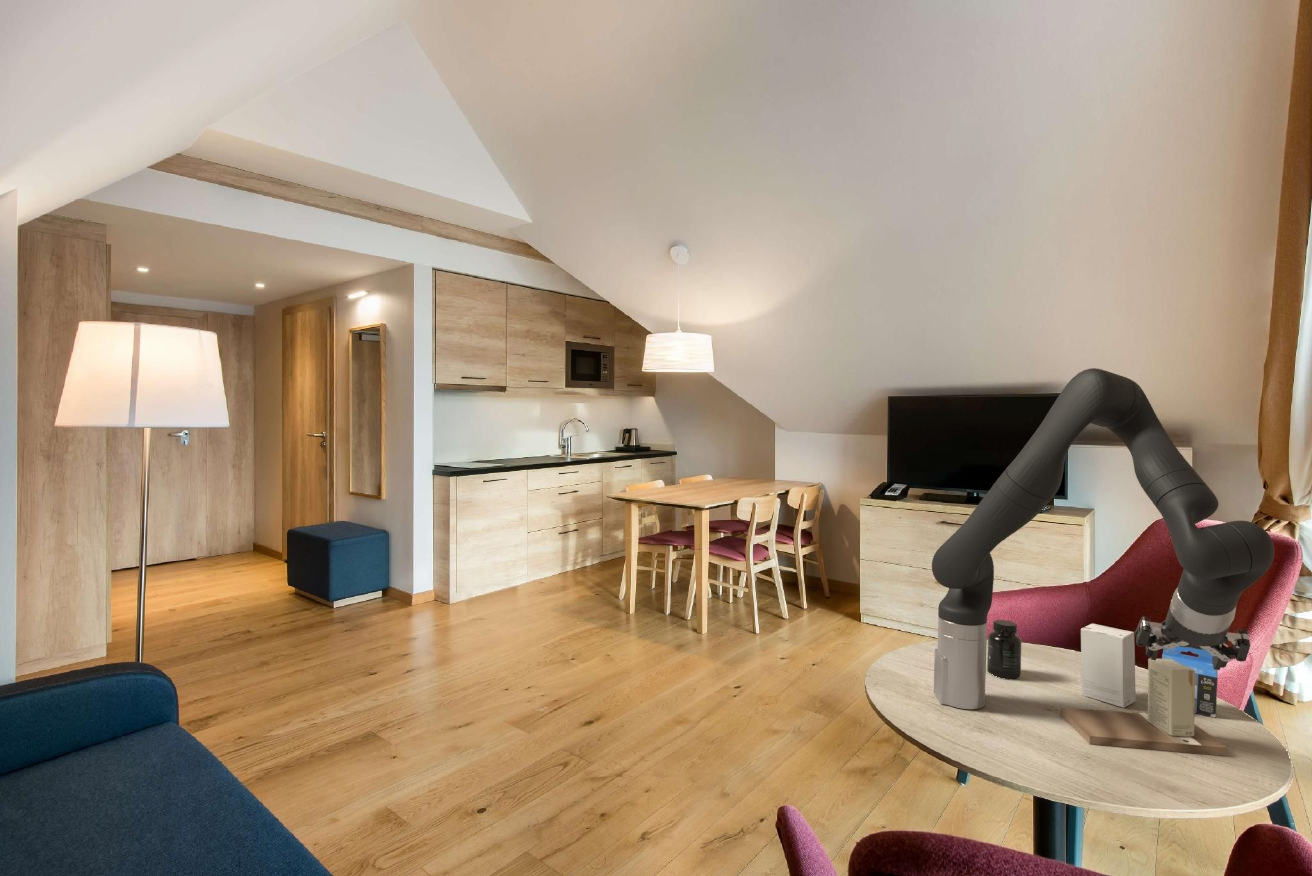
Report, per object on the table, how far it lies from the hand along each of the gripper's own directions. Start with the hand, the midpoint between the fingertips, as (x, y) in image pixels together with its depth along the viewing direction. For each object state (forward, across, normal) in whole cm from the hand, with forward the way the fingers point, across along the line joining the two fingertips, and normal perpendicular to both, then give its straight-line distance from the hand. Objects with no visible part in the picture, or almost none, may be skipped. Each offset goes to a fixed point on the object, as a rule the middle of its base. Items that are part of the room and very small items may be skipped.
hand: (1183, 659), depth 112 cm
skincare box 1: (+30, +8, -4) cm, 31 cm away
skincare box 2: (+18, 0, +5) cm, 19 cm away
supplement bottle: (+32, +28, -7) cm, 43 cm away
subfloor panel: (+18, +5, +7) cm, 20 cm away
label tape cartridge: (+32, -6, -6) cm, 33 cm away
